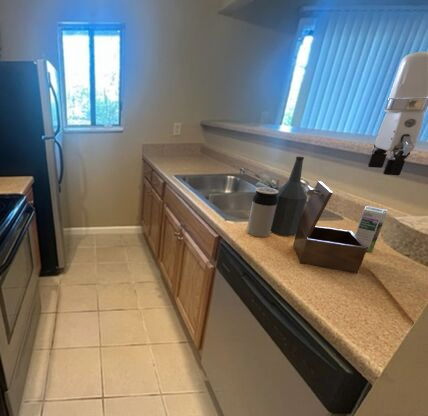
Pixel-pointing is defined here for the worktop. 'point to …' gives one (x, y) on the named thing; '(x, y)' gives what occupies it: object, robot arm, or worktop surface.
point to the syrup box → (370, 226)
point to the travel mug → (262, 212)
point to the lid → (314, 207)
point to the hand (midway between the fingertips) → (382, 170)
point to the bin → (330, 249)
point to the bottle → (290, 203)
